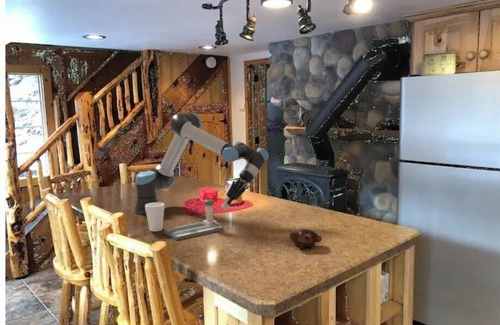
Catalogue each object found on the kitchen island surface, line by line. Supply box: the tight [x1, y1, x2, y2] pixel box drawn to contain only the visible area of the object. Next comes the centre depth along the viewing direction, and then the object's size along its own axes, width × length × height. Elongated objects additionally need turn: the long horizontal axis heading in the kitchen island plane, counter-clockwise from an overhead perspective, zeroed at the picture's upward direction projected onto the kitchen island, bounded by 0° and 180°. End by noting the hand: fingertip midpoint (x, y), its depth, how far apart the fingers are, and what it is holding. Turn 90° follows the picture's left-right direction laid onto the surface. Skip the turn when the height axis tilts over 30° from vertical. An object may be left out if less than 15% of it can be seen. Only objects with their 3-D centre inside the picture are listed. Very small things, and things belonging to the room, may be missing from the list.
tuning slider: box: [202, 199, 218, 226], centre depth 205 cm, size 11×5×13 cm, turn 35°
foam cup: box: [145, 202, 165, 232], centre depth 207 cm, size 10×9×13 cm
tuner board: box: [163, 221, 225, 241], centre depth 203 cm, size 14×26×3 cm, turn 125°
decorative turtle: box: [289, 228, 323, 250], centre depth 179 cm, size 10×15×8 cm, turn 114°
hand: (223, 208), depth 212 cm, fingers closed
